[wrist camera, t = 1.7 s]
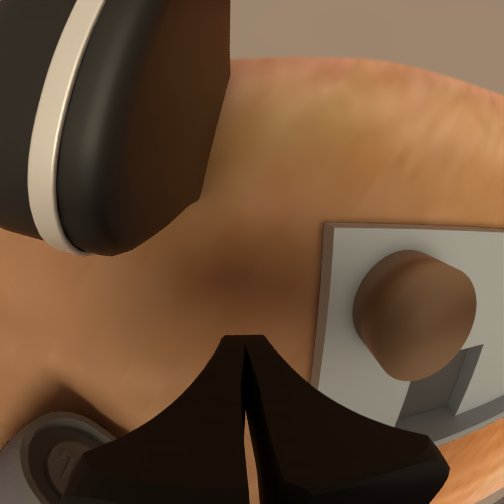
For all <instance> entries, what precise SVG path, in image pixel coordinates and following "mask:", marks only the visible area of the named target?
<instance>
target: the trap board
mask: <svg viewBox="0 0 504 504" xmlns="http://www.w3.org/2000/svg"><path fill="white" fill-rule="evenodd" d="M402 250H416V251H420V252H423V253H425V254H427V255H429V256H431V257H433V258H436V259H438V260H440V261H442V262H444V263H446V264H448V265H450V266H452V267H454V268H457V269H459V270H461V271H462V272H464V273H465V274H466V275H467V276H468V277H469V278H470V280H471V282H472V284H473V286H474V289H475V293H476V300H477V307H476V315H475V320H474V323H473V326H472V329H471V332H470V334H469V336H468V338H467V340H466V342H465V343H464V345H463V347H462V348H461V349H460V351H459V352H458V353H457V355H456V356H455V357H454V358H453V359H452V360H451V361H450V362H449V363H448V364H447V365H446V366H444V367H443V368H442V369H440V370H439V371H437V372H436V373H434V374H432V375H430V376H428V377H426V378H423V379H420V380H416V381H400V380H397V379H394V378H392V377H390V376H389V375H388V374H387V373H386V372H385V371H384V370H383V368H382V367H381V366H380V364H379V363H378V362H377V360H376V359H375V357H374V356H373V355H372V353H371V352H370V351H369V349H368V348H367V347H366V345H365V344H364V343H363V341H362V340H361V339H360V337H359V336H358V334H357V332H356V330H355V327H354V323H353V314H352V313H353V304H354V299H355V296H356V292H357V290H358V288H359V286H360V284H361V282H362V280H363V279H364V277H365V276H366V274H367V273H368V272H369V271H370V270H371V268H372V267H373V266H374V265H375V264H377V263H378V262H379V261H380V260H382V259H383V258H384V257H386V256H388V255H390V254H392V253H395V252H398V251H402ZM310 385H312V386H313V387H314V388H316V389H317V390H319V391H320V392H321V393H323V394H324V395H326V396H327V397H329V398H330V399H332V400H334V401H335V402H337V403H339V404H341V405H343V406H345V407H346V408H348V409H350V410H352V411H354V412H356V413H358V414H361V415H363V416H365V417H368V418H370V419H373V420H375V421H378V422H381V423H383V424H386V425H389V426H392V427H396V428H400V429H403V430H407V431H412V432H416V433H420V434H424V435H428V436H429V438H430V439H431V440H432V441H433V443H434V444H435V445H436V446H440V445H443V444H445V443H448V442H450V441H453V440H455V439H458V438H460V437H462V436H465V435H467V434H469V433H472V432H474V431H476V430H478V429H480V428H482V427H485V426H487V425H489V424H491V423H493V422H495V421H497V420H499V419H501V418H502V417H504V229H498V228H481V227H462V226H440V225H415V224H384V223H338V222H324V232H323V251H322V267H321V282H320V295H319V306H318V317H317V328H316V338H315V347H314V356H313V364H312V372H311V380H310Z"/></svg>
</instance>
